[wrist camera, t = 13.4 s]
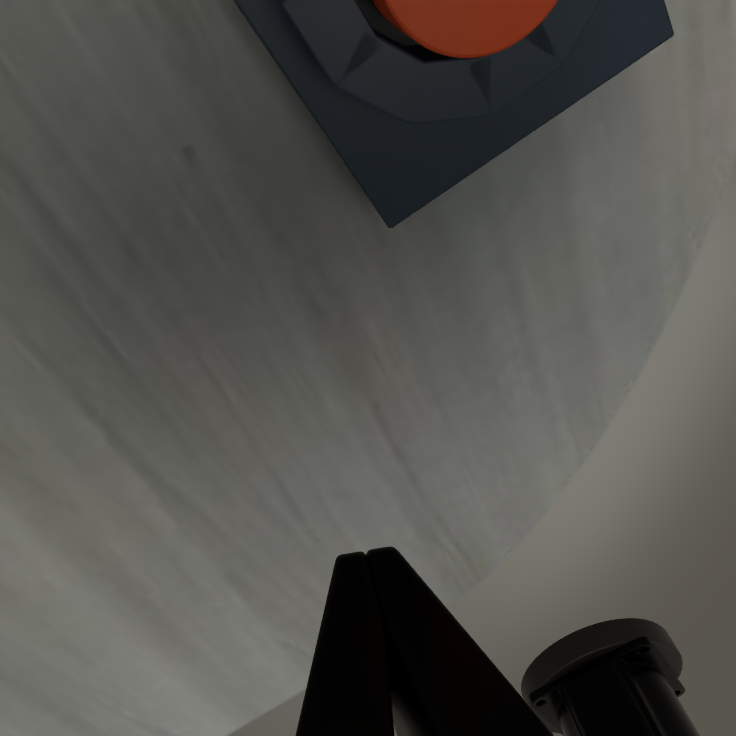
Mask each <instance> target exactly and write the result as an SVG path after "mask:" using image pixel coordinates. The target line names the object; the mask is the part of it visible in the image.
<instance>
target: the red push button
mask: <svg viewBox="0 0 736 736" xmlns="http://www.w3.org/2000/svg"><path fill="white" fill-rule="evenodd" d="M557 1H558V0H372V2H373V4H374V5H375V7H376V8H377V10H378V11H379V12H380V13H381V14H382V15H383V17H384V18H385V19H386V20H387V21H388V22H390V23H391V24H392V25H393V26H394V27H395V28H397V29H398V30H400V31H401V32H403V33H404V34H405V35H407V36H408V37H410V38H411V39H413V40H414V41H416V42H417V43H419V44H420V45H422V46H423V47H425V48H427V49H429V50H431V51H433V52H435V53H438V54H441V55H445V56H448V57H455V58H477V57H483V56H488V55H491V54H494V53H497V52H500V51H502V50H504V49H506V48H509V47H511V46H512V45H514V44H515V43H517V42H519V41H520V40H522V39H523V38H524V37H526V36H527V35H528V34H529V33H531V32H532V31H533V30H534V29H535V28H536V27H537V26H538V25H539V24H540V23H541V22H542V21H543V20H544V19H545V18H546V16H547V15H548V14H549V12H550V11H551V10H552V9H553V7H554V6H555V4H556V3H557Z"/></svg>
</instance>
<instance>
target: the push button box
mask: <svg viewBox="0 0 736 736" xmlns="http://www.w3.org/2000/svg"><path fill="white" fill-rule="evenodd" d="M234 2H235V3H236V5H237V6H238V8H239V9H240V11H241V12H242V14H243V15H244V17H245V18H246V19H247V21H248V22H249V24H250V25H251V27H252V28H253V30H254V31H255V33H256V34H257V36H258V37H259V39H260V40H261V41H262V43H263V44H264V46H265V47H266V49H267V50H268V52H269V53H270V55H271V56H272V58H273V59H274V61H275V62H276V63H277V65H278V66H279V68H280V69H281V71H282V72H283V74H284V75H285V77H286V78H287V80H288V81H289V83H290V84H291V85H292V87H293V88H294V90H295V91H296V93H297V94H298V96H299V97H300V99H301V100H302V102H303V103H304V105H305V106H306V107H307V109H308V110H309V112H310V113H311V115H312V116H313V118H314V119H315V121H316V122H317V124H318V125H319V127H320V128H321V129H322V131H323V132H324V134H325V135H326V137H327V138H328V140H329V141H330V143H331V144H332V146H333V147H334V149H335V150H336V151H337V153H338V154H339V156H340V157H341V159H342V160H343V162H344V163H345V165H346V166H347V168H348V169H349V171H350V172H351V173H352V175H353V176H354V178H355V179H356V181H357V182H358V184H359V185H360V187H361V188H362V190H363V191H364V193H365V194H366V196H367V197H368V198H369V200H370V201H371V203H372V204H373V206H374V207H375V209H376V210H377V212H378V213H379V215H380V216H381V218H382V219H383V220H384V222H385V223H386V225H387V226H388V227H389V228H393V227H394V226H396V225H397V224H399V223H400V222H401V221H403V220H404V219H406V218H407V217H409V216H410V215H412V214H413V213H415V212H416V211H418V210H419V209H421V208H422V207H423V206H425V205H426V204H428V203H429V202H431V201H432V200H434V199H435V198H437V197H438V196H440V195H441V194H442V193H444V192H445V191H447V190H448V189H450V188H451V187H453V186H454V185H456V184H457V183H459V182H460V181H461V180H463V179H464V178H466V177H467V176H469V175H470V174H472V173H473V172H475V171H476V170H478V169H479V168H481V167H482V166H483V165H485V164H486V163H488V162H489V161H491V160H492V159H494V158H495V157H497V156H498V155H500V154H501V153H502V152H504V151H505V150H507V149H508V148H510V147H511V146H513V145H514V144H516V143H517V142H519V141H520V140H521V139H523V138H524V137H526V136H527V135H529V134H530V133H532V132H533V131H535V130H536V129H538V128H539V127H540V126H542V125H543V124H545V123H546V122H548V121H549V120H551V119H552V118H554V117H555V116H557V115H558V114H560V113H561V112H562V111H564V110H565V109H567V108H568V107H570V106H571V105H573V104H574V103H576V102H577V101H579V100H580V99H581V98H583V97H584V96H586V95H587V94H589V93H590V92H592V91H593V90H595V89H596V88H598V87H599V86H600V85H602V84H603V83H605V82H606V81H608V80H609V79H611V78H612V77H614V76H615V75H617V74H618V73H620V72H621V71H622V70H624V69H625V68H627V67H628V66H630V65H631V64H633V63H634V62H636V61H637V60H639V59H640V58H641V57H643V56H644V55H646V54H647V53H649V52H650V51H652V50H653V49H655V48H656V47H658V46H659V45H660V44H662V43H663V42H665V41H666V40H668V39H669V38H671V37H672V36H673V35H674V32H673V29H672V25H671V22H670V19H669V15H668V12H667V9H666V5H665V2H664V0H558V1H557V3H556V4H555V6H554V7H553V9H552V10H551V11H550V12H549V14H548V15H547V16H546V18H545V19H544V20H543V21H542V22H541V23H540V24H539V25H538V26H537V27H536V28H535V29H534V30H533V31H532V32H531V33H529V34H528V35H527V36H526V37H524V38H523V39H522V40H520V41H519V42H517V43H515V44H514V45H512V46H511V47H509V48H506V49H504V50H502V51H500V52H497V53H494V54H491V55H488V56H483V57H477V58H455V57H448V56H445V55H441V54H438V53H435V52H433V51H431V50H429V49H427V48H425V47H423V46H422V45H420V44H419V43H417V42H416V41H414V40H413V39H411V38H410V37H408V36H407V35H405V34H404V33H403V32H401V31H400V30H398V29H397V28H395V27H394V26H393V25H392V24H391V23H390V22H388V21H387V20H386V19H385V18H384V17H383V15H382V14H381V13H380V12H379V11H378V10H377V8H376V7H375V5H374V4H373V2H372V0H234Z"/></svg>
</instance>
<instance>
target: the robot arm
mask: <svg viewBox="0 0 736 736" xmlns="http://www.w3.org/2000/svg"><path fill="white" fill-rule="evenodd" d="M684 691H685V688H684V687H683V685H682V683H681V682H680V680H679V679H678V678H677V676H676V675H675V673H674V672H673V671H672V669H671V668H670V666H669V665H668V664H667V662H666V661H665V659H664V658H663V657H662V655H661V654H660V653H659V651H658V650H657V648H656V647H655V646H654V644H653V643H652V641H651V640H650V639H649V638H648V637H646V636H643V637H639V638H636V639H634V640H632V641H630V642H628V643H626V644H624V645H623V646H621V647H619V648H617V649H615V650H613V651H611V652H609V653H607V654H605V655H603V656H601V657H599V658H597V659H595V660H593V661H591V662H590V663H588V664H586V665H584V666H582V667H580V668H578V669H576V670H574V671H572V672H570V673H568V674H566V675H564V676H562V677H560V678H558V679H557V680H555V681H553V682H551V683H549V684H547V685H545V686H543V687H541V688H539V689H537V690H535V691H533V692H532V693H531V694H530V695H529V696H528V699H529V701H530V704H531V706H532V708H533V709H534V710H536V711H537V712H538V713H539V714H540V715H541V716H542V717H543V718H545V719H546V720H547V721H548V722H549V723H550V724H551V725H552V726H553V727H555V728H556V729H557V730H558V731H559V732H560V733H561V734H563V735H564V736H700V735H699V734H698V732H697V730H696V728H695V727H694V725H693V723H692V722H691V720H690V718H689V716H688V715H687V713H686V711H685V710H684V708H683V706H682V704H681V703H680V701H679V699H678V698H677V697H679V696H681V695H682V694H683V693H684ZM393 723H394V724H393ZM394 726H395V729H396V733H397V736H553V733H552V732H551V731H550V730H549V729H548V728H547V726H546V725H545V724H544V723H543V722H542V720H541V719H540V718H539V717H538V716H537V715H536V713H535V712H534V711H533V710H532V709H531V707H530V706H529V705H528V704H527V703H526V702H525V700H524V699H523V698H522V697H521V696H520V695H519V693H518V692H517V691H516V690H515V689H514V687H513V686H512V685H511V684H510V683H509V681H508V680H507V679H506V678H505V677H504V676H503V674H502V673H501V672H500V671H499V670H498V668H497V667H496V666H495V665H494V664H493V663H492V661H491V660H490V659H489V658H488V657H487V655H486V654H485V653H484V652H483V651H482V650H481V648H480V647H479V646H478V645H477V644H476V642H475V641H474V640H473V639H472V638H471V637H470V635H469V634H468V633H467V632H466V631H465V629H464V628H463V627H462V626H461V625H460V624H459V622H458V621H457V620H456V619H455V618H454V616H453V615H452V614H451V613H450V612H449V610H448V609H447V608H446V607H445V606H444V605H443V603H442V602H441V601H440V600H439V599H438V597H437V596H436V595H435V594H434V593H433V592H432V590H431V589H430V588H429V587H428V586H427V584H426V583H425V582H424V581H423V580H422V579H421V577H420V576H419V575H418V574H417V573H416V571H415V570H414V569H413V568H412V567H411V566H410V564H409V563H408V562H407V561H406V560H405V558H404V557H403V556H402V555H401V554H400V553H399V551H398V550H397V549H395V548H394V547H383V548H378V549H372V550H369V551H368V552H367V553H366V554H365V553H364V552H354V553H348V554H342V555H339V556H338V557H337V558H336V561H335V565H334V569H333V574H332V578H331V583H330V587H329V591H328V596H327V600H326V605H325V609H324V613H323V618H322V622H321V627H320V631H319V635H318V640H317V644H316V648H315V653H314V657H313V662H312V666H311V670H310V675H309V679H308V684H307V688H306V692H305V697H304V701H303V706H302V710H301V715H300V719H299V723H298V728H297V732H296V736H394Z"/></svg>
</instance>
